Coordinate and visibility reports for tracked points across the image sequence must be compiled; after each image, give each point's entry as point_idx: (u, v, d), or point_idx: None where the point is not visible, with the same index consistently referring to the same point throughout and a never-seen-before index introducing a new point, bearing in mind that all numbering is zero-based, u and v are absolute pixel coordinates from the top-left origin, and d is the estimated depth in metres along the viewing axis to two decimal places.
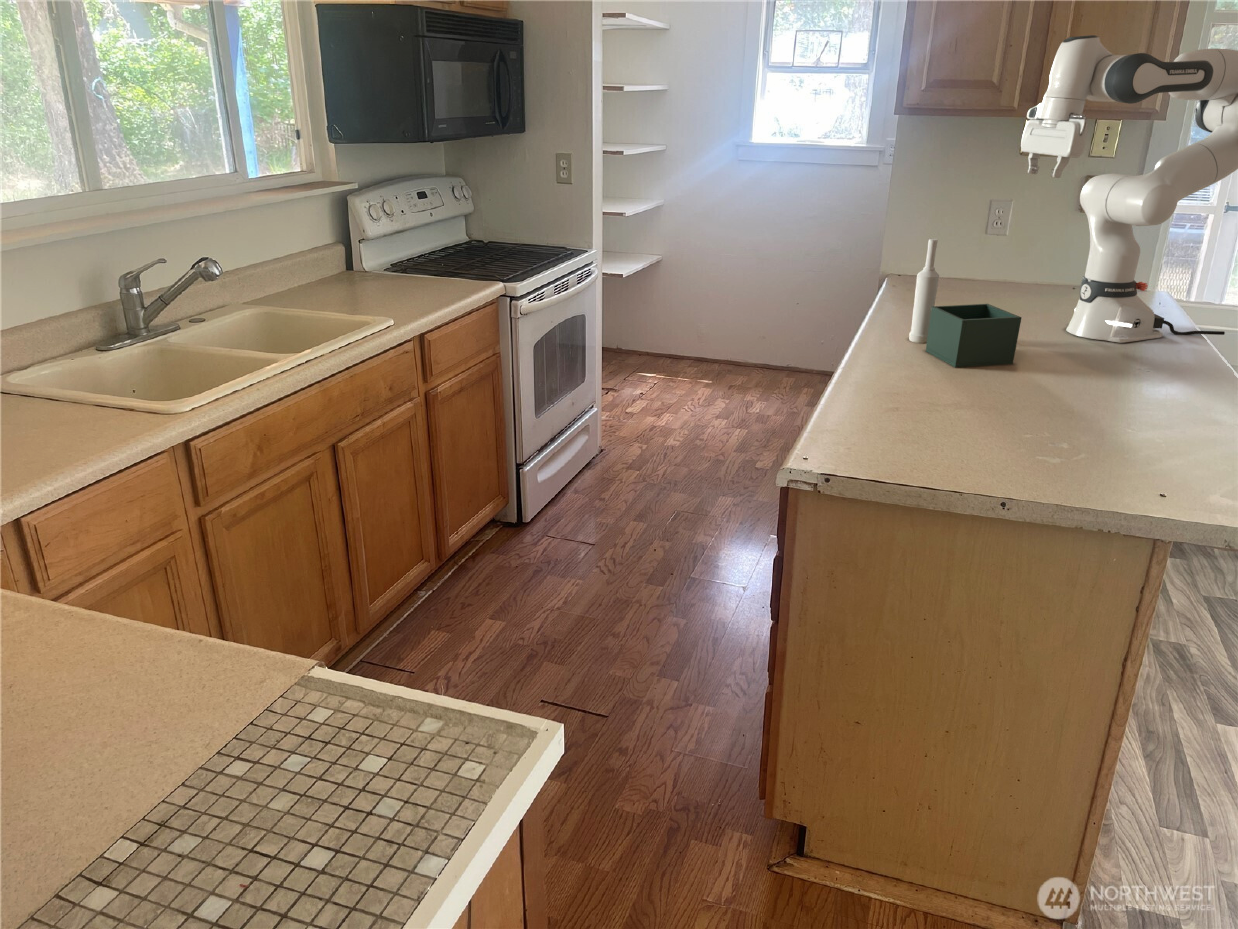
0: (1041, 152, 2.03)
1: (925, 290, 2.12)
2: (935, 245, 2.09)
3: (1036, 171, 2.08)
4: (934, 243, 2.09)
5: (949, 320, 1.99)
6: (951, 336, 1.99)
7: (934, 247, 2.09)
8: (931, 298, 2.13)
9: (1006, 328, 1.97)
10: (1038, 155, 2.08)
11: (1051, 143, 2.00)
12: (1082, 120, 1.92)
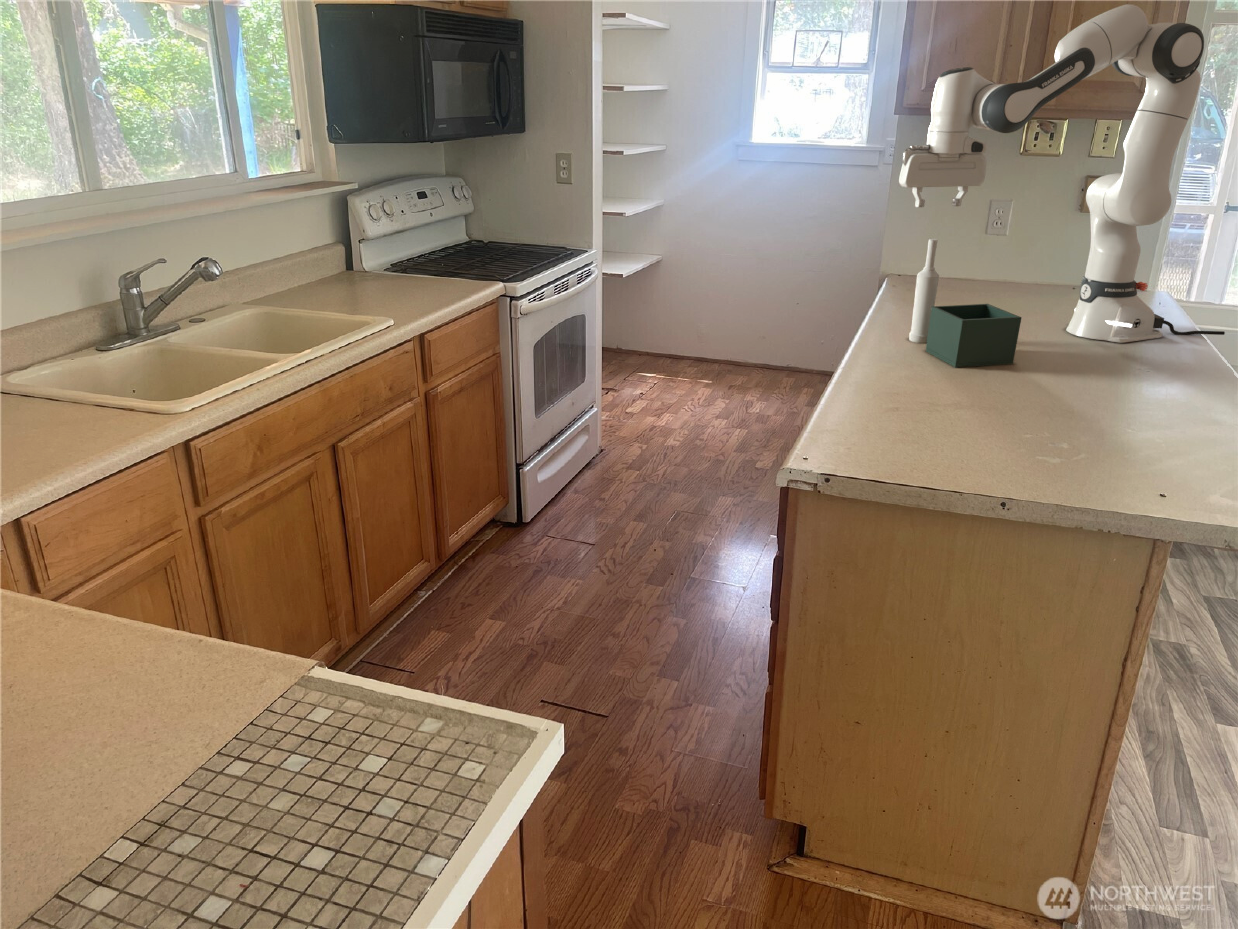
0: None
1: (925, 290, 2.12)
2: (935, 245, 2.09)
3: (954, 203, 2.06)
4: (934, 243, 2.09)
5: (949, 320, 1.99)
6: (951, 336, 1.99)
7: (934, 247, 2.09)
8: (931, 298, 2.13)
9: (1006, 328, 1.97)
10: (961, 187, 2.05)
11: None
12: None
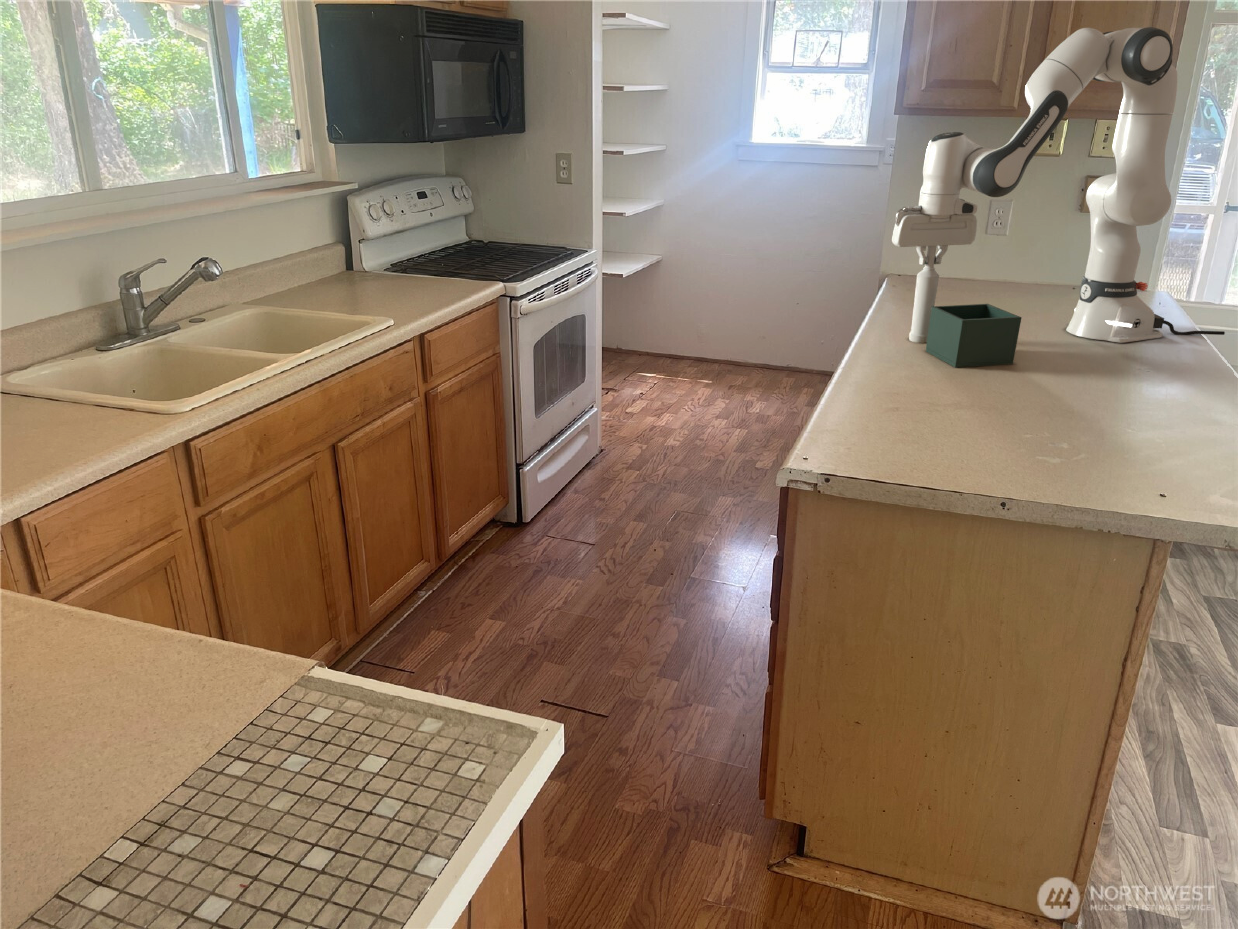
0: None
1: (925, 290, 2.12)
2: None
3: (934, 261, 2.11)
4: None
5: (949, 320, 1.99)
6: (951, 336, 1.99)
7: (934, 247, 2.09)
8: (931, 298, 2.13)
9: (1006, 328, 1.97)
10: (941, 246, 2.10)
11: None
12: None
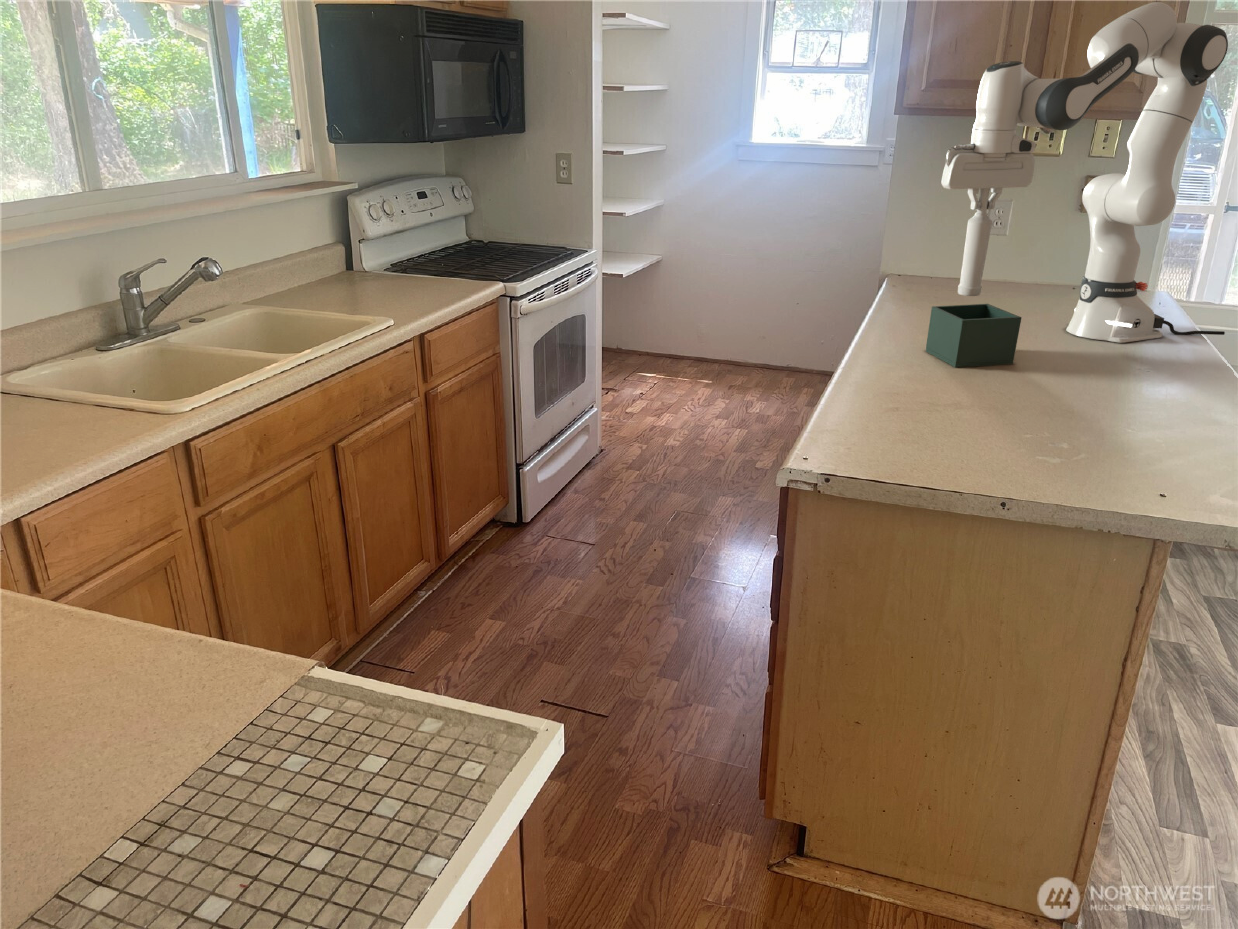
0: None
1: (977, 238, 1.95)
2: (988, 188, 1.92)
3: (987, 206, 1.94)
4: None
5: (949, 320, 1.99)
6: (951, 336, 1.99)
7: (987, 190, 1.92)
8: (983, 247, 1.96)
9: (1006, 328, 1.97)
10: (995, 189, 1.93)
11: None
12: None
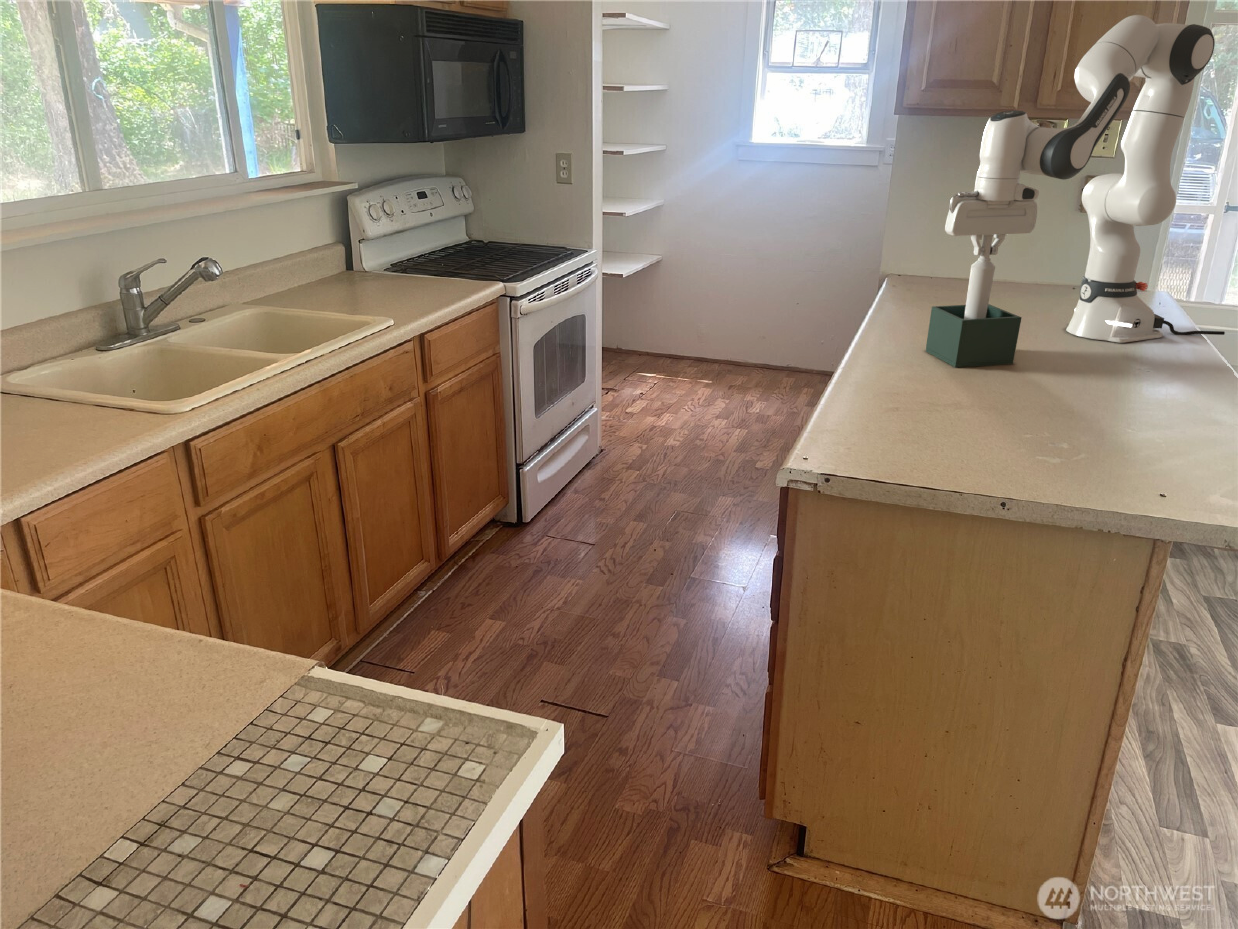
0: None
1: (980, 283, 1.96)
2: None
3: (990, 252, 1.96)
4: None
5: (949, 320, 1.99)
6: (951, 336, 1.99)
7: (990, 236, 1.94)
8: (986, 292, 1.97)
9: (1006, 328, 1.97)
10: (998, 235, 1.94)
11: None
12: None
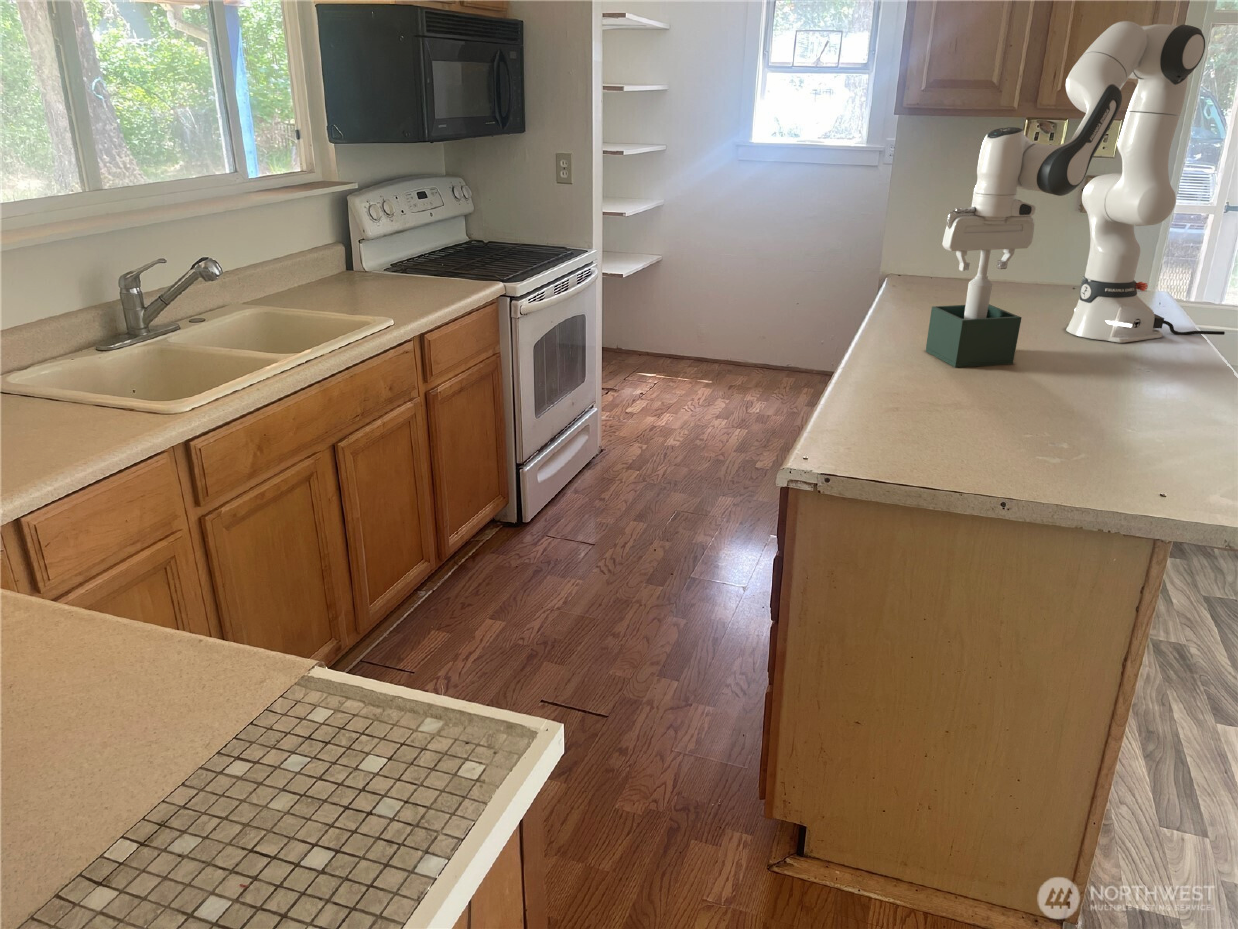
0: None
1: (977, 300, 1.98)
2: (989, 252, 1.95)
3: (1000, 266, 1.97)
4: (988, 250, 1.95)
5: (949, 320, 1.99)
6: (951, 336, 1.99)
7: (988, 254, 1.95)
8: (983, 309, 1.99)
9: (1006, 328, 1.97)
10: (1007, 250, 1.96)
11: None
12: None
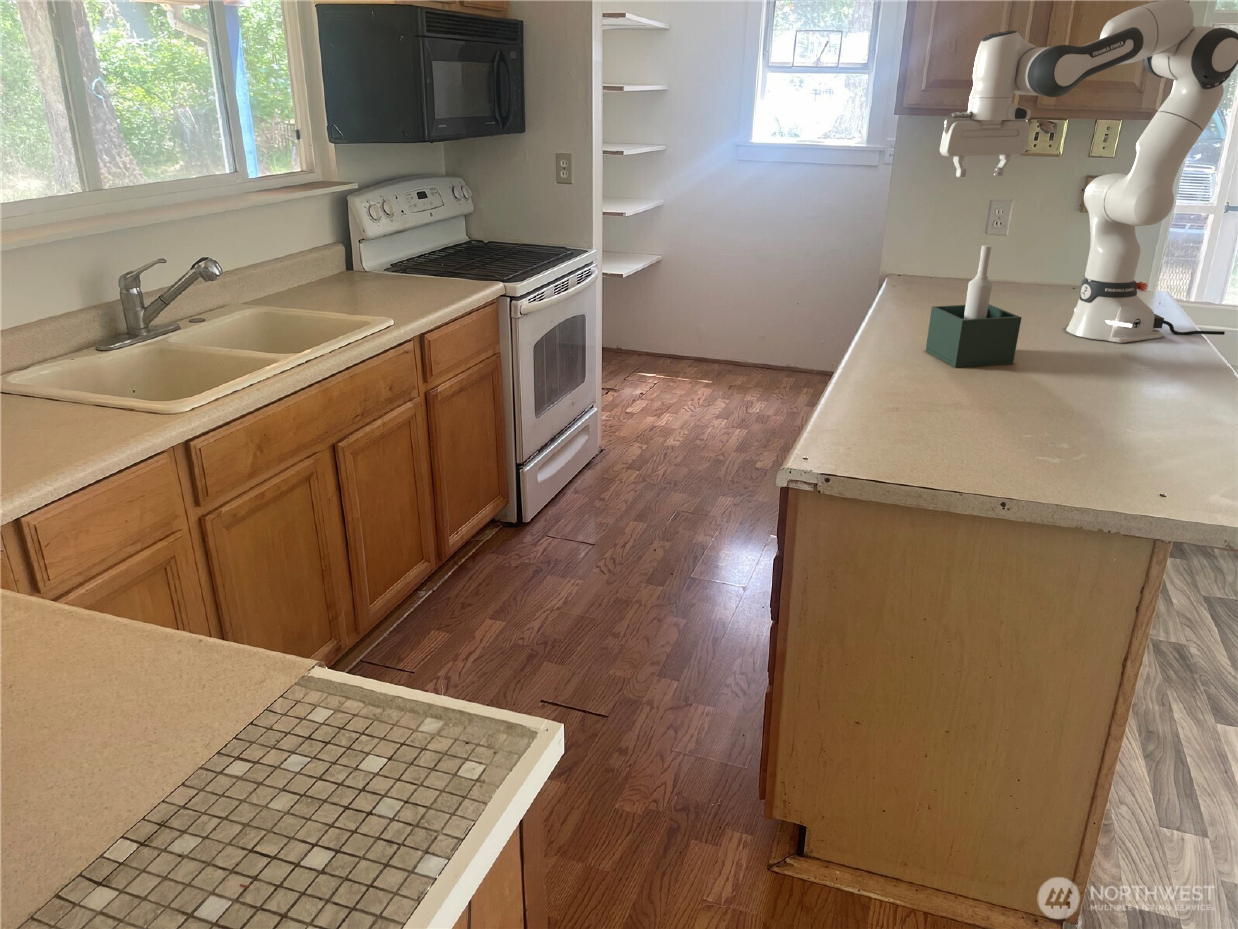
0: None
1: (977, 300, 1.98)
2: (989, 252, 1.95)
3: (996, 172, 2.01)
4: (988, 250, 1.95)
5: (949, 320, 1.99)
6: (951, 336, 1.99)
7: (988, 254, 1.95)
8: (983, 309, 1.99)
9: (1006, 328, 1.97)
10: (1003, 156, 1.99)
11: None
12: None
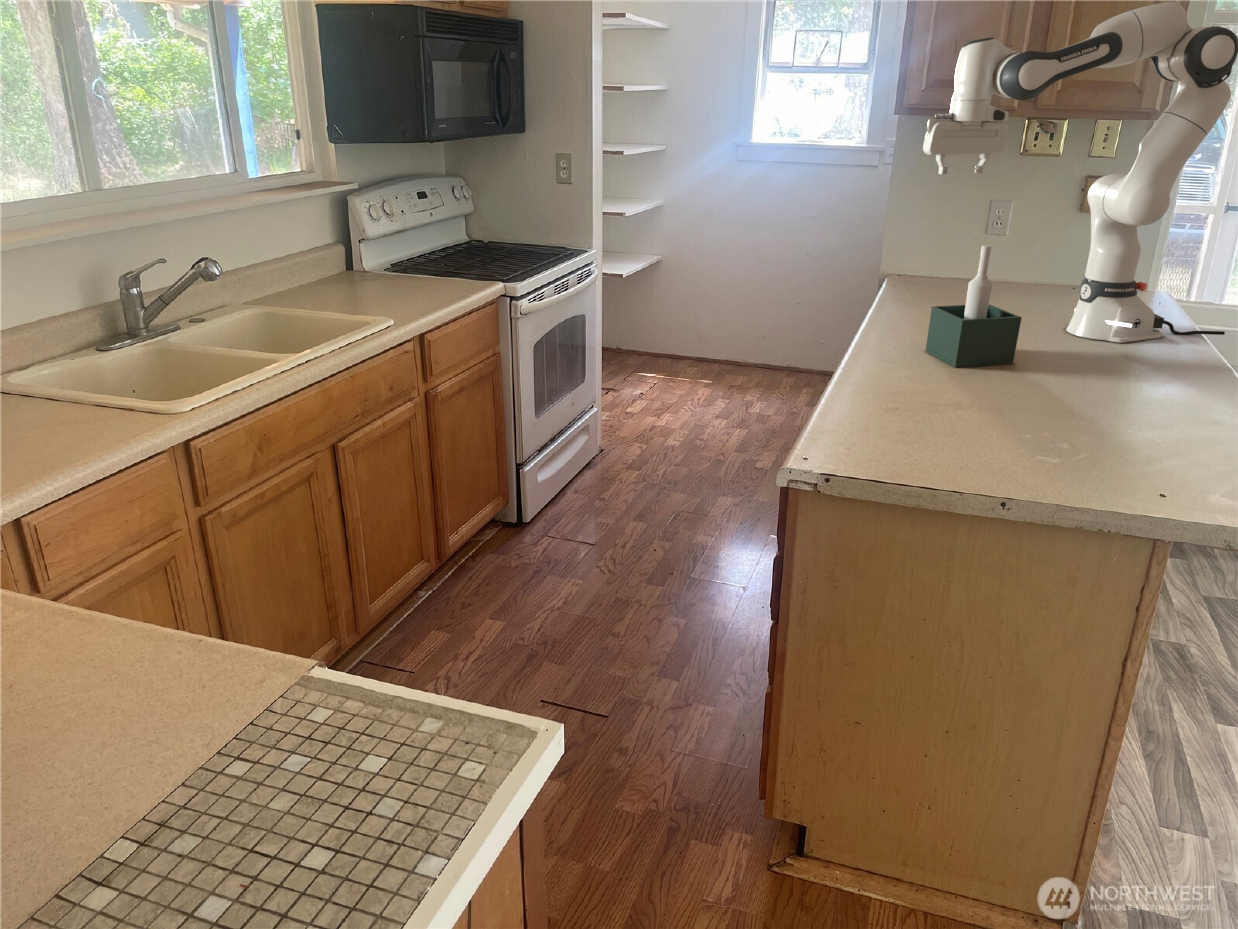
0: None
1: (977, 300, 1.98)
2: (989, 252, 1.95)
3: (976, 170, 2.13)
4: (988, 250, 1.95)
5: (949, 320, 1.99)
6: (951, 336, 1.99)
7: (988, 254, 1.95)
8: (983, 309, 1.99)
9: (1006, 328, 1.97)
10: (983, 155, 2.12)
11: None
12: None
